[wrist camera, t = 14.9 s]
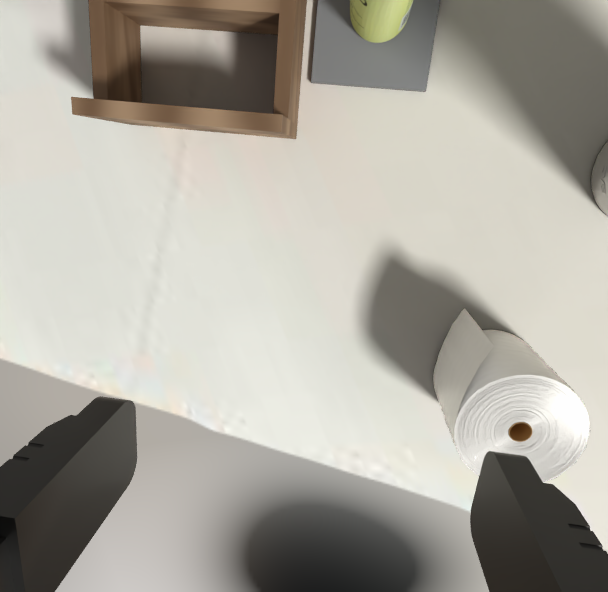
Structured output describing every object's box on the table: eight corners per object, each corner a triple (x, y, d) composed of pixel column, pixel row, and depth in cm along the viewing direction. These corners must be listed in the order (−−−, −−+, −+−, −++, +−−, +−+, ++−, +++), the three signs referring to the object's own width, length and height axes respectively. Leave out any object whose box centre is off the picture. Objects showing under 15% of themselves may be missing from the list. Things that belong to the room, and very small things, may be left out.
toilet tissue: (491, 438, 47) (526, 508, 38) (401, 379, 46) (414, 435, 37) (562, 366, 44) (621, 422, 34) (467, 301, 43) (500, 340, 34)
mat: (450, -74, 34) (452, -77, 34) (425, 91, 38) (425, 91, 38) (325, -80, 35) (324, -83, 35) (311, 83, 39) (311, 82, 38)
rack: (312, -73, 35) (299, -149, 27) (296, 139, 40) (280, 132, 32) (123, -83, 37) (54, -158, 28) (130, 124, 41) (72, 114, 33)
